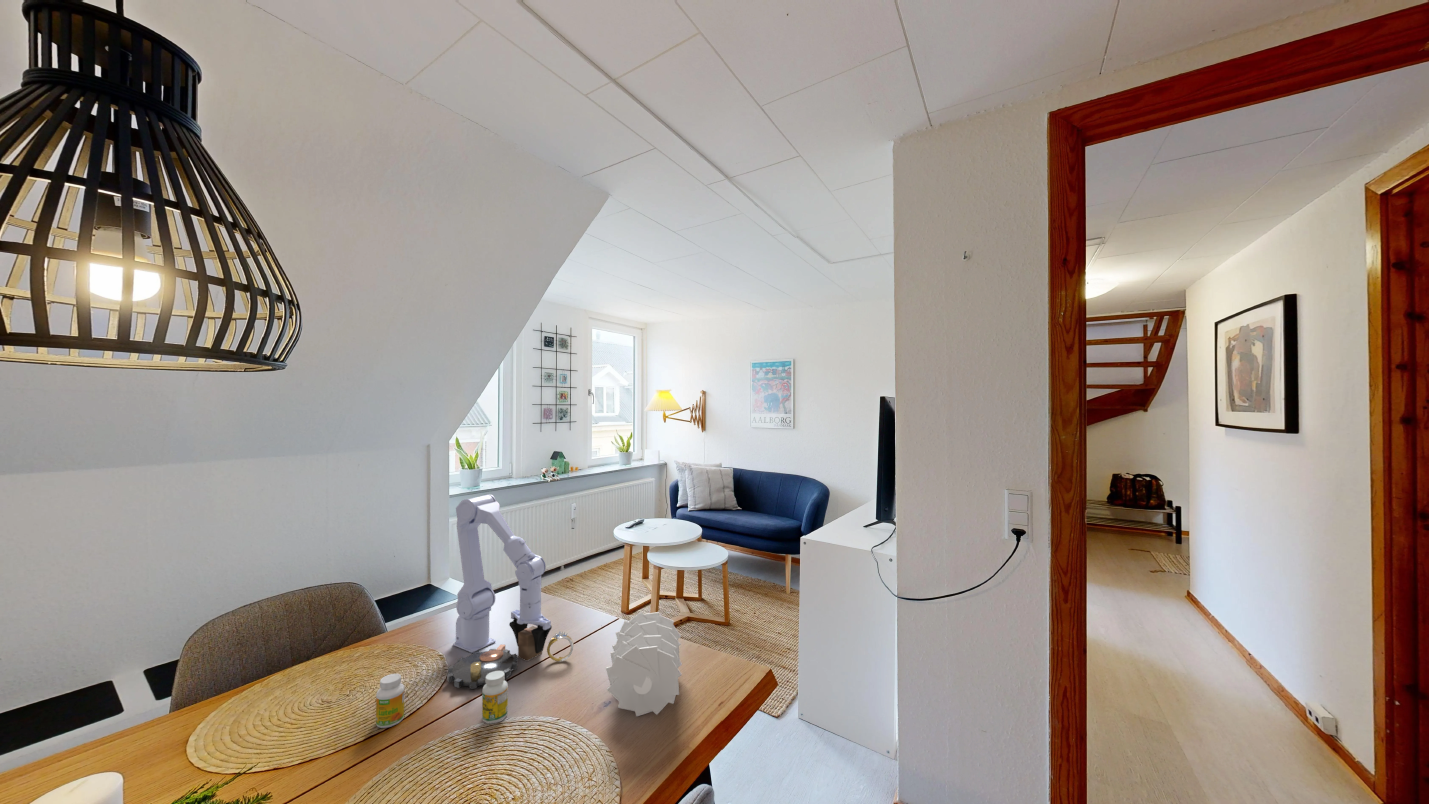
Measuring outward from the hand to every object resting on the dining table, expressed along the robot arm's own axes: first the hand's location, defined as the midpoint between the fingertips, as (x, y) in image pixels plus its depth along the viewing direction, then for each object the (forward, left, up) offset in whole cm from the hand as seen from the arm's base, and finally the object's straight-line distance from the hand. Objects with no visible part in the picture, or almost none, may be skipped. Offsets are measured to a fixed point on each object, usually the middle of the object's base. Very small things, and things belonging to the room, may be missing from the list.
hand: (530, 648), depth 142 cm
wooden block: (0, 0, -2) cm, 2 cm away
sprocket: (-2, -13, -2) cm, 13 cm away
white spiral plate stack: (+40, +2, -2) cm, 40 cm away
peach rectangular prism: (-8, -4, -2) cm, 9 cm away
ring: (+10, +2, -2) cm, 10 cm away
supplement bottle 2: (+16, -23, -2) cm, 28 cm away
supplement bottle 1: (-3, -36, -2) cm, 36 cm away
